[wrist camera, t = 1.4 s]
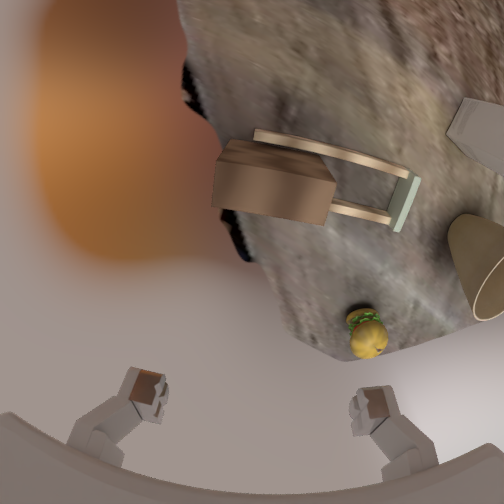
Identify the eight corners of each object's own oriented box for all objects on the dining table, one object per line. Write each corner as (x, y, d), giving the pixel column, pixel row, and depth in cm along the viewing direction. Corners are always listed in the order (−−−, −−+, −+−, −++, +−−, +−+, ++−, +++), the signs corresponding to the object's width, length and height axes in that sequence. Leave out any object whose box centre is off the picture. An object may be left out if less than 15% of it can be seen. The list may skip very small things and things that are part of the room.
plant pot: (475, 259, 42) (512, 312, 29) (423, 264, 44) (459, 328, 30) (495, 195, 34) (546, 242, 20) (441, 191, 35) (498, 246, 22)
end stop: (383, 217, 39) (393, 230, 36) (403, 166, 34) (415, 175, 30) (390, 219, 39) (399, 232, 36) (409, 168, 34) (421, 178, 30)
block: (226, 172, 37) (211, 206, 28) (230, 138, 34) (216, 160, 25) (310, 187, 37) (323, 226, 28) (318, 155, 34) (337, 183, 25)
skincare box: (465, 156, 31) (528, 198, 18) (442, 132, 30) (511, 168, 17) (485, 119, 26) (551, 150, 14) (463, 93, 25) (535, 114, 12)
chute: (245, 188, 38) (244, 194, 36) (255, 128, 33) (254, 131, 31) (384, 217, 39) (388, 224, 37) (403, 166, 34) (409, 171, 32)
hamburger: (339, 322, 53) (348, 371, 43) (347, 297, 49) (360, 348, 39) (372, 321, 53) (385, 367, 43) (382, 297, 49) (400, 345, 39)
